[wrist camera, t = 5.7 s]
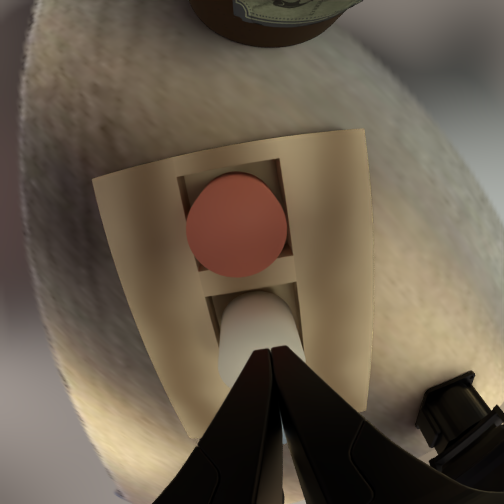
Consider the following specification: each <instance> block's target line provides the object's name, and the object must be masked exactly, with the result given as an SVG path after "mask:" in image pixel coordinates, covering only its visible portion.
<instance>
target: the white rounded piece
mask: <svg viewBox="0 0 504 504" xmlns="http://www.w3.org/2000/svg"><path fill="white" fill-rule="evenodd" d="M283 345H286V346H288V347H289V348H290V349H291V350H292V351H293V352H294V353H295V354H296V355H297V356H298V357H300V358H301V359H302V360H303V361H304V362H305V363H306V360H305V355H304V351H303V348H302V345H301V341H300V338H299V334H298V331H297V328H296V324H295V321H294V318H293V314H292V312H291V309H290V307H289V306H288V304H287V303H286V302H285V301H284V300H283V299H282V298H280V297H279V296H277V295H275V294H272V293H269V292H263V291H254V292H248V293H245V294H242V295H240V296H238V297H236V298H235V299H233V300H232V301H231V302H230V303H229V304H228V305H227V307H226V308H225V310H224V312H223V314H222V319H221V330H220V344H219V357H218V371H219V375H220V377H221V379H222V380H223V382H224V383H225V384H226V385H227V386H228V387H229V388H232V387H233V385H234V383H235V381H236V380H237V378H238V376H239V375H240V373H241V371H242V369H243V368H244V366H245V364H246V362H247V361H248V359H249V357H250V356H251V354H252V352H253V351H254V350H258V349H265V348H269V349H270V351H271V348H272V347H277V346H283Z"/></svg>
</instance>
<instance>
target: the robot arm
mask: <svg viewBox="0 0 504 504" xmlns="http://www.w3.org/2000/svg"><path fill="white" fill-rule="evenodd" d="M474 377H475V373H474V372H473V371H471V372H469V373H467V374H465V375H462V376H460V377H458V378H456V379H453V380H451V381H449V382H446V383H444V384H441V385H439V386H436V387H434V388H431V389H429V390H428V391H427V392H426V393H425V396H424V399H423V403H422V406H421V409H420V413H419V416H418V419H417V422H416V425H415V426H416V428H417V429H420V430H421V432H422V434H423V436H424V438H425V439H426V441H427V443H428V445H429V447H430V448H433V447H434V448H435V450H436V451H437V453H438V455H437V456H436V457H435V458H433V459H431V460H429V463H430V466H429V465H428V464H426V463H424V462H423V461H421V460H419V459H418V458H416V457H414V456H413V455H411V454H410V453H408V452H407V451H405V450H404V449H402V448H401V447H400V446H398V445H397V444H395V443H394V442H393V441H391V440H390V439H389V438H388V437H386V436H385V435H384V434H383V433H381V432H380V431H379V430H378V429H377V428H376V427H374V426H373V425H372V424H371V423H370V422H369V421H368V420H365V418H364V417H363V416H362V415H361V414H360V413H359V412H357V411H356V410H355V409H354V408H353V407H352V406H351V405H350V404H349V403H348V402H346V401H345V400H344V399H343V398H342V397H341V396H340V395H339V394H338V393H337V392H336V391H335V390H333V389H332V388H331V387H330V386H329V385H328V384H327V383H326V382H325V381H324V380H323V379H322V378H321V377H320V376H318V375H317V374H316V373H315V372H314V371H313V370H312V369H311V368H310V367H309V366H308V365H307V364H306V363H305V362H304V361H303V360H302V359H301V358H300V357H298V356H297V355H296V354H295V353H294V352H293V351H292V350H291V349H290V348H289V347H288V346H286V345H283V346H277V347H272V348H271V351H270V349H269V348H265V349H258V350H254V351H253V352H252V354H251V356H250V357H249V359H248V361H247V362H246V364H245V366H244V368H243V369H242V371H241V373H240V375H239V376H238V378H237V380H236V381H235V383H234V385H233V387H232V388H231V390H230V392H229V393H228V395H227V397H226V398H225V400H224V402H223V403H222V405H221V407H220V408H219V410H218V412H217V413H216V415H215V417H214V418H213V420H212V421H211V423H210V425H209V426H208V428H207V430H206V431H205V433H204V434H203V436H202V438H201V439H200V441H199V442H198V444H197V445H198V446H196V447H195V448H194V450H193V452H192V453H191V455H190V456H189V458H188V459H187V461H186V462H185V464H184V465H183V467H182V468H181V469H180V471H179V472H178V474H177V475H176V476H175V478H174V479H173V480H172V481H171V482H170V484H169V485H168V486H167V487H166V488H165V490H164V491H163V492H162V493H161V494H160V495H159V496H158V498H157V499H156V500H155V501H154V502H153V503H152V504H282V476H283V432H282V425H283V429H284V433H285V437H286V440H287V443H288V447H289V450H290V453H291V456H292V460H293V463H294V466H295V469H296V472H297V476H298V479H299V482H300V485H301V488H302V491H303V495H304V498H305V501H306V504H504V424H503V425H501V424H502V423H504V413H503V411H502V410H501V409H500V407H499V406H498V405H496V406H495V407H494V408H493V410H492V411H491V409H490V408H489V407H488V405H487V404H486V403H485V401H484V400H483V399H482V397H481V396H480V395H479V393H478V392H477V391H476V389H475V388H474V387H473V386H472V382H473V380H474ZM281 419H282V421H281Z"/></svg>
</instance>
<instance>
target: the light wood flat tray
mask: <svg viewBox="0 0 504 504" xmlns="http://www.w3.org/2000/svg"><path fill="white" fill-rule="evenodd" d="M234 171H240V172H246V173H250V174H252V175H255V176H256V177H258V178H260V179H261V180H262V181H263V182H264V183H265V184H266V185H267V186H268V187H269V189H270V190H271V191H272V193H273V194H274V196H275V197H276V199H277V200H278V202H279V203H280V205H281V207H282V209H283V211H284V214H285V217H286V222H287V236H286V241H285V244H284V247H283V249H282V251H281V253H280V254H279V256H278V257H277V259H276V260H275V261H274V262H273V263H272V264H271V265H270V266H269V267H267V268H266V269H264V270H263V271H261V272H259V273H257V274H254V275H251V276H247V277H239V278H237V277H226V276H222V275H219V274H216V273H214V272H212V271H210V270H209V269H207V268H206V267H204V266H203V265H202V264H201V263H200V262H199V261H198V260H197V259H196V257H195V256H194V254H193V253H192V251H191V249H190V247H189V244H188V241H187V235H186V222H187V218H188V214H189V211H190V209H191V207H192V205H193V204H194V202H195V201H196V199H197V198H198V196H199V195H200V194H201V192H202V191H203V190H204V188H205V187H206V186H207V184H208V183H209V182H210V181H212V180H213V179H214V178H216V177H218V176H219V175H222V174H224V173H228V172H234ZM92 183H93V187H94V192H95V196H96V200H97V204H98V208H99V212H100V215H101V219H102V223H103V226H104V230H105V233H106V237H107V240H108V244H109V247H110V250H111V254H112V257H113V260H114V263H115V266H116V269H117V272H118V275H119V278H120V281H121V284H122V287H123V290H124V293H125V295H126V298H127V301H128V304H129V306H130V309H131V312H132V314H133V317H134V320H135V322H136V325H137V327H138V330H139V332H140V335H141V337H142V340H143V342H144V344H145V347H146V349H147V351H148V354H149V356H150V358H151V361H152V363H153V365H154V367H155V370H156V372H157V374H158V376H159V378H160V381H161V383H162V385H163V387H164V389H165V391H166V393H167V395H168V397H169V399H170V401H171V403H172V405H173V407H174V409H175V411H176V413H177V415H178V417H179V419H180V421H181V423H182V425H183V427H184V428H185V430H186V432H187V434H188V436H189V438H202V436H203V434H204V433H205V431H206V430H207V428H208V426H209V425H210V423H211V421H212V420H213V418H214V417H215V415H216V413H217V412H218V410H219V408H220V407H221V405H222V403H223V402H224V400H225V398H226V397H227V395H228V393H229V392H230V390H231V388H229V387H228V386H227V385H226V384H225V383H224V382H223V380H222V379H221V377H220V375H219V371H218V357H219V344H220V330H221V319H222V314H223V312H224V310H225V308H226V307H227V305H228V304H229V303H230V302H231V301H232V300H233V299H235V298H236V297H238V296H240V295H242V294H245V293H248V292H254V291H263V292H269V293H272V294H275V295H277V296H279V297H280V298H282V299H283V300H284V301H285V302H286V303H287V304H288V306H289V307H290V309H291V312H292V314H293V318H294V321H295V324H296V328H297V331H298V334H299V338H300V341H301V345H302V348H303V351H304V355H305V360H306V364H307V365H308V366H309V367H310V368H311V369H312V370H313V371H314V372H315V373H316V374H317V375H318V376H320V377H321V378H322V379H323V380H324V381H325V382H326V383H327V384H328V385H329V386H330V387H331V388H332V389H333V390H335V391H336V392H337V393H338V394H339V395H340V396H341V397H342V398H343V399H344V400H345V401H346V402H348V403H349V404H350V405H351V406H352V407H353V408H354V409H355V410H356V411H357V412H362V411H366V406H367V398H368V389H369V379H370V368H371V355H372V340H373V320H374V235H373V214H372V199H371V186H370V175H369V164H368V155H367V147H366V139H365V131H364V129H350V130H338V131H327V132H318V133H309V134H300V135H292V136H285V137H277V138H270V139H264V140H257V141H251V142H245V143H239V144H234V145H228V146H223V147H218V148H212V149H207V150H202V151H198V152H193V153H188V154H184V155H179V156H175V157H171V158H166V159H162V160H158V161H154V162H150V163H146V164H142V165H138V166H135V167H131V168H127V169H124V170H120V171H117V172H113V173H110V174H106V175H103V176H100V177H96V178H93V179H92Z"/></svg>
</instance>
